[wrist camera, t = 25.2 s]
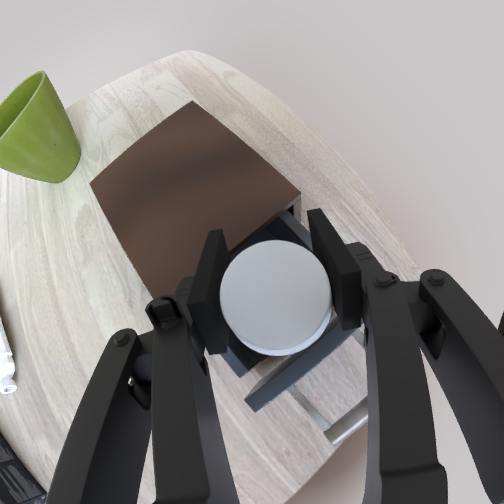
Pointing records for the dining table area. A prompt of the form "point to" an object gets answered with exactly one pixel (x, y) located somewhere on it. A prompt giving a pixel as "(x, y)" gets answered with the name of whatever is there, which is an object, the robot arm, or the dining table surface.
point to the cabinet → (188, 195)
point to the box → (17, 480)
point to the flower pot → (37, 132)
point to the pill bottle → (276, 297)
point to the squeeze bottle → (6, 364)
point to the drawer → (301, 361)
